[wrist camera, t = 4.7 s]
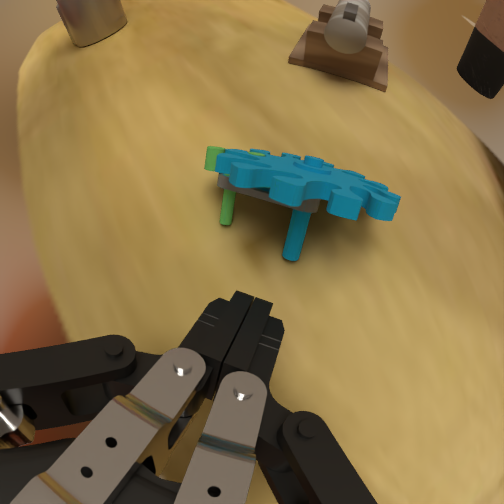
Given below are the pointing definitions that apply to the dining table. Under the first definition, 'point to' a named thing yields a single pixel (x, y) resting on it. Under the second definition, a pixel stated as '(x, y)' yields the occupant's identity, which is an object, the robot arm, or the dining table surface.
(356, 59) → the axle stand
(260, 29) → the dining table surface
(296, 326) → the dining table surface
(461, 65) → the travel mug
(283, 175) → the gear
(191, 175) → the dining table surface
